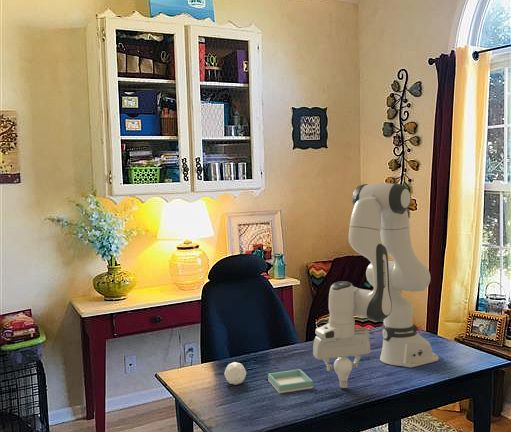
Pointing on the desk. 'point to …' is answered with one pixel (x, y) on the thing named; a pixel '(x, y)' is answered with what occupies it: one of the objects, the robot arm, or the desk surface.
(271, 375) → the dish
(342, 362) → the lightbulb
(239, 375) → the geometric ball
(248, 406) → the desk surface
